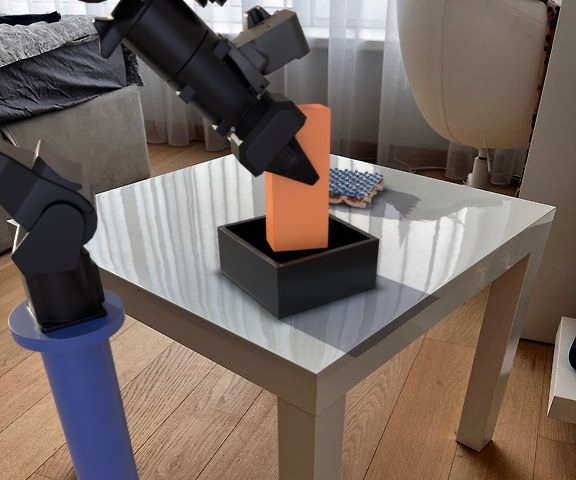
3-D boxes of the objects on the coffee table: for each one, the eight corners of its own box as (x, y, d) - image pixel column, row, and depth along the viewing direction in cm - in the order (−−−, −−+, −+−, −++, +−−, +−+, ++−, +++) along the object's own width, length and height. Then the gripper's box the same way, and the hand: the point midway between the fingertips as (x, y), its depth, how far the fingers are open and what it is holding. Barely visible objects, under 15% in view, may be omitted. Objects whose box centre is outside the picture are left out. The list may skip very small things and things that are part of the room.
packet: (273, 251, 62) (270, 110, 55) (266, 240, 65) (262, 105, 58) (327, 247, 62) (331, 108, 56) (317, 236, 66) (319, 103, 59)
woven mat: (294, 199, 87) (294, 185, 86) (322, 178, 95) (322, 164, 94) (364, 210, 84) (365, 195, 83) (387, 186, 92) (388, 172, 91)
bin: (278, 319, 60) (277, 267, 57) (220, 273, 68) (216, 226, 65) (375, 287, 65) (379, 238, 62) (311, 248, 74) (311, 203, 70)
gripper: (279, -24, 42) (409, 133, 51) (227, -33, 57) (335, 90, 66) (177, 107, 45) (316, 233, 54) (152, 66, 60) (265, 171, 69)
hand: (309, 174), depth 61 cm, fingers closed on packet, 4 cm apart
